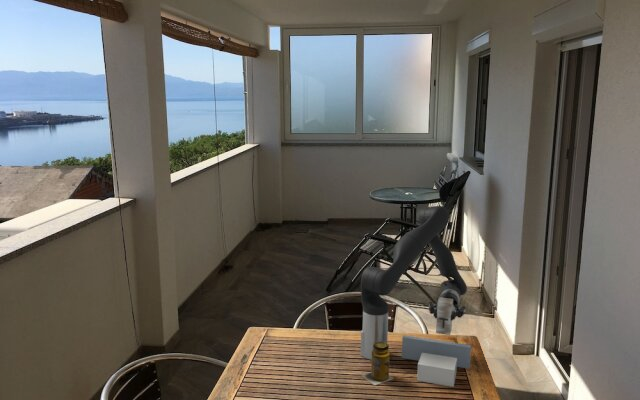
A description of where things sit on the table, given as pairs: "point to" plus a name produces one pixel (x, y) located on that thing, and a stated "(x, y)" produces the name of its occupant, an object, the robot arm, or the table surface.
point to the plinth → (437, 369)
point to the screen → (435, 349)
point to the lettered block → (444, 316)
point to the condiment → (379, 364)
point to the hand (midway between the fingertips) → (443, 316)
